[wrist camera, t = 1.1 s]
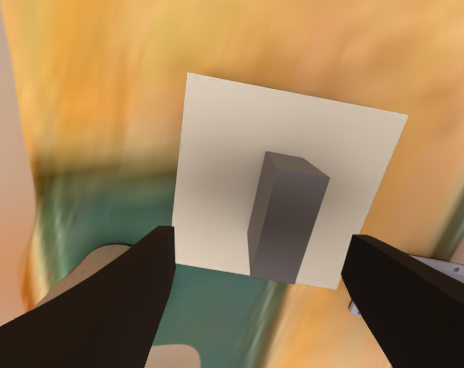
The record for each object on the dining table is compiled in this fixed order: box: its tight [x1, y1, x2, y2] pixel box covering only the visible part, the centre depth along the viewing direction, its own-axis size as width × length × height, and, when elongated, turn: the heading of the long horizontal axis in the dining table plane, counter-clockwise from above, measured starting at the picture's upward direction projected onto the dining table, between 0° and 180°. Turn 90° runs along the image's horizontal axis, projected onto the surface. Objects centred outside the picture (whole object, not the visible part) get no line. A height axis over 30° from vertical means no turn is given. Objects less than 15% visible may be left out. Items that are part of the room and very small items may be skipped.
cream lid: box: [172, 73, 409, 290], centre depth 13 cm, size 13×13×6 cm
